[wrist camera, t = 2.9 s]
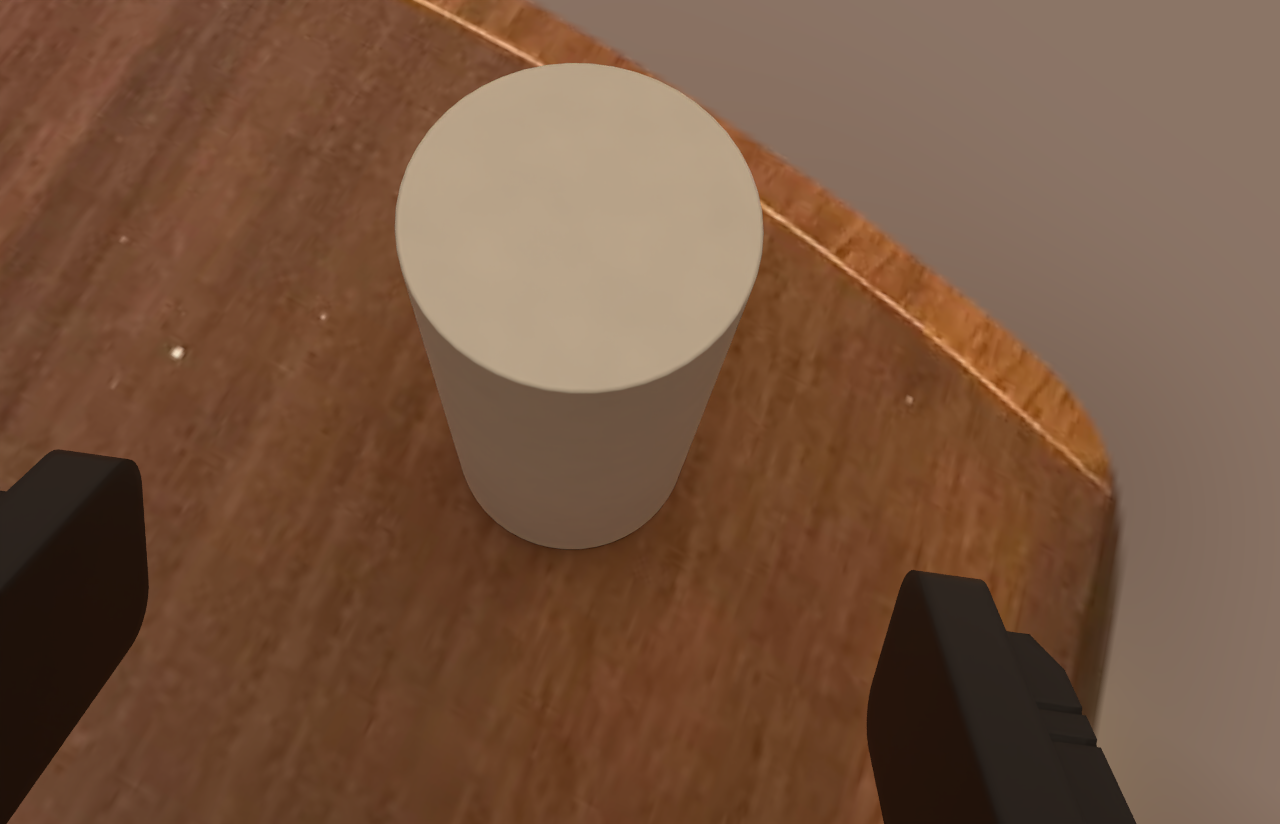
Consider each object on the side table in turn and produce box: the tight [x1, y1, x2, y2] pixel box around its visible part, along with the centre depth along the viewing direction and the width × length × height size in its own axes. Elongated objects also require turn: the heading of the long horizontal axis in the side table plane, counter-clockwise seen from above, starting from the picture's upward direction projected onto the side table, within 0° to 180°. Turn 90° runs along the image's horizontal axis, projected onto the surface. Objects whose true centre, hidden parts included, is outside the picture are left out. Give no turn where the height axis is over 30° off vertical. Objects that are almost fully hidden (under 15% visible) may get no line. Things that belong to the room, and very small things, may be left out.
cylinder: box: [395, 63, 764, 549], centre depth 18 cm, size 4×4×9 cm
